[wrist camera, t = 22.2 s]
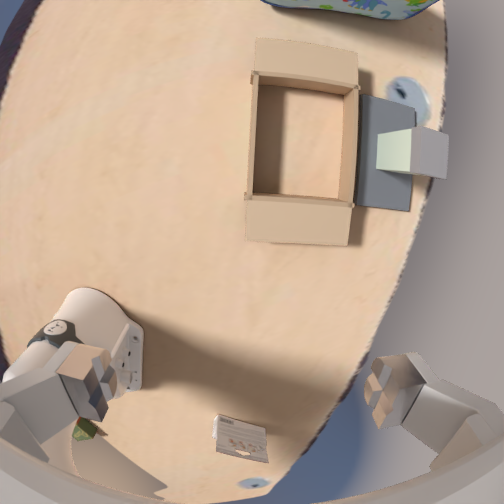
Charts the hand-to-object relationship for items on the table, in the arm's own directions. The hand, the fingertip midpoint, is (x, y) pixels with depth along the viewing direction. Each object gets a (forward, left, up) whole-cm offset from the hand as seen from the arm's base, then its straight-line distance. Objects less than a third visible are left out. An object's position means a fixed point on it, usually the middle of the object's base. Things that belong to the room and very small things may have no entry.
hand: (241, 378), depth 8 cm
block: (+10, -20, -30) cm, 38 cm away
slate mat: (+10, -20, -31) cm, 38 cm away
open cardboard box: (+10, -7, -31) cm, 33 cm away
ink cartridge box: (-43, -1, -32) cm, 53 cm away
